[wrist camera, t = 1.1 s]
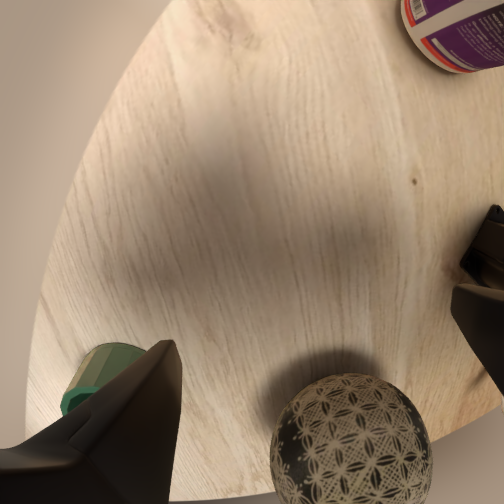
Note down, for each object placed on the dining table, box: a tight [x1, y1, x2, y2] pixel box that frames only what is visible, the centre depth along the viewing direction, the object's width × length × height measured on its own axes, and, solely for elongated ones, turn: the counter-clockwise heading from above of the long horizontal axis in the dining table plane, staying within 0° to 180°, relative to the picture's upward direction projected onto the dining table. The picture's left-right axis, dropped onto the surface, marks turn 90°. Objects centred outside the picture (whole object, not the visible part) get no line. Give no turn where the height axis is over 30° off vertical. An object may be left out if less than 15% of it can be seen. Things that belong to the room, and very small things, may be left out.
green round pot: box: [60, 343, 146, 416], centre depth 21 cm, size 8×8×6 cm
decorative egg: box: [270, 373, 433, 504], centre depth 18 cm, size 12×12×15 cm
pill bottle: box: [401, 0, 504, 73], centre depth 9 cm, size 8×8×14 cm
